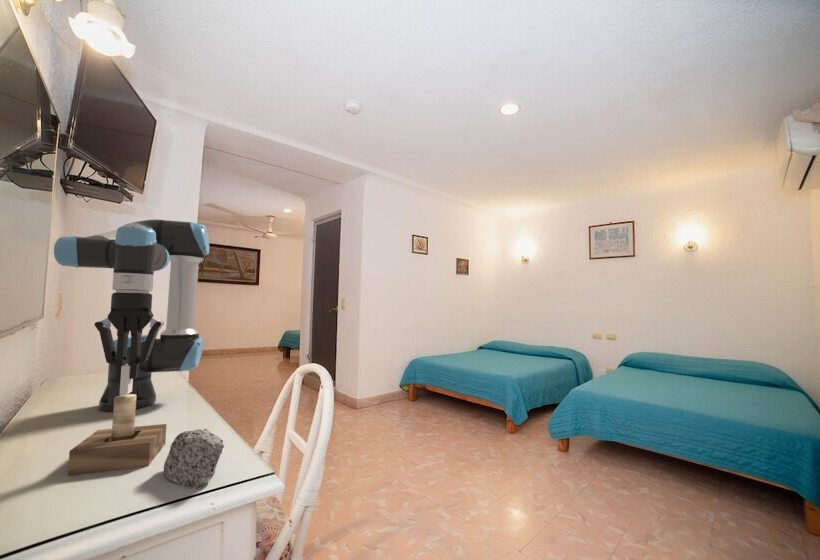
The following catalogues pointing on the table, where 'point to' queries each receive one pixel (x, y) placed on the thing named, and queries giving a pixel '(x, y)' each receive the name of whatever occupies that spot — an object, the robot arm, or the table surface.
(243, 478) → the table surface
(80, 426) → the table surface
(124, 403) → the peg
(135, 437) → the board
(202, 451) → the rock
